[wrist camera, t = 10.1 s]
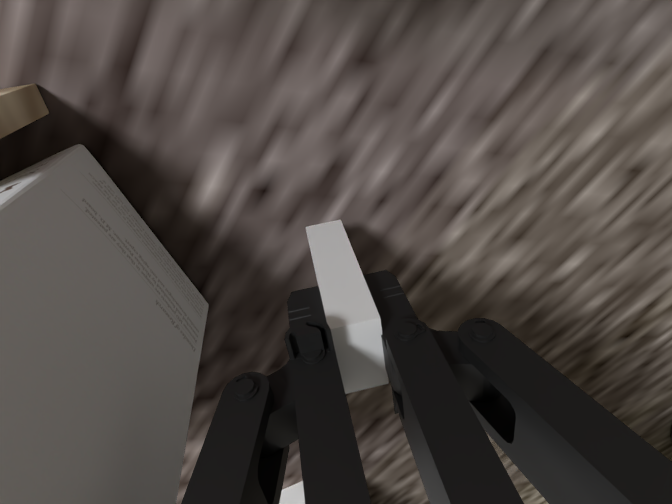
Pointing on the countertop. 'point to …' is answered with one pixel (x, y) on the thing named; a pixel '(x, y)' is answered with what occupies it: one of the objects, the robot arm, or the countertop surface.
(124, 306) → the supplement box
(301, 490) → the milk
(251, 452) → the robot arm
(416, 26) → the countertop surface
